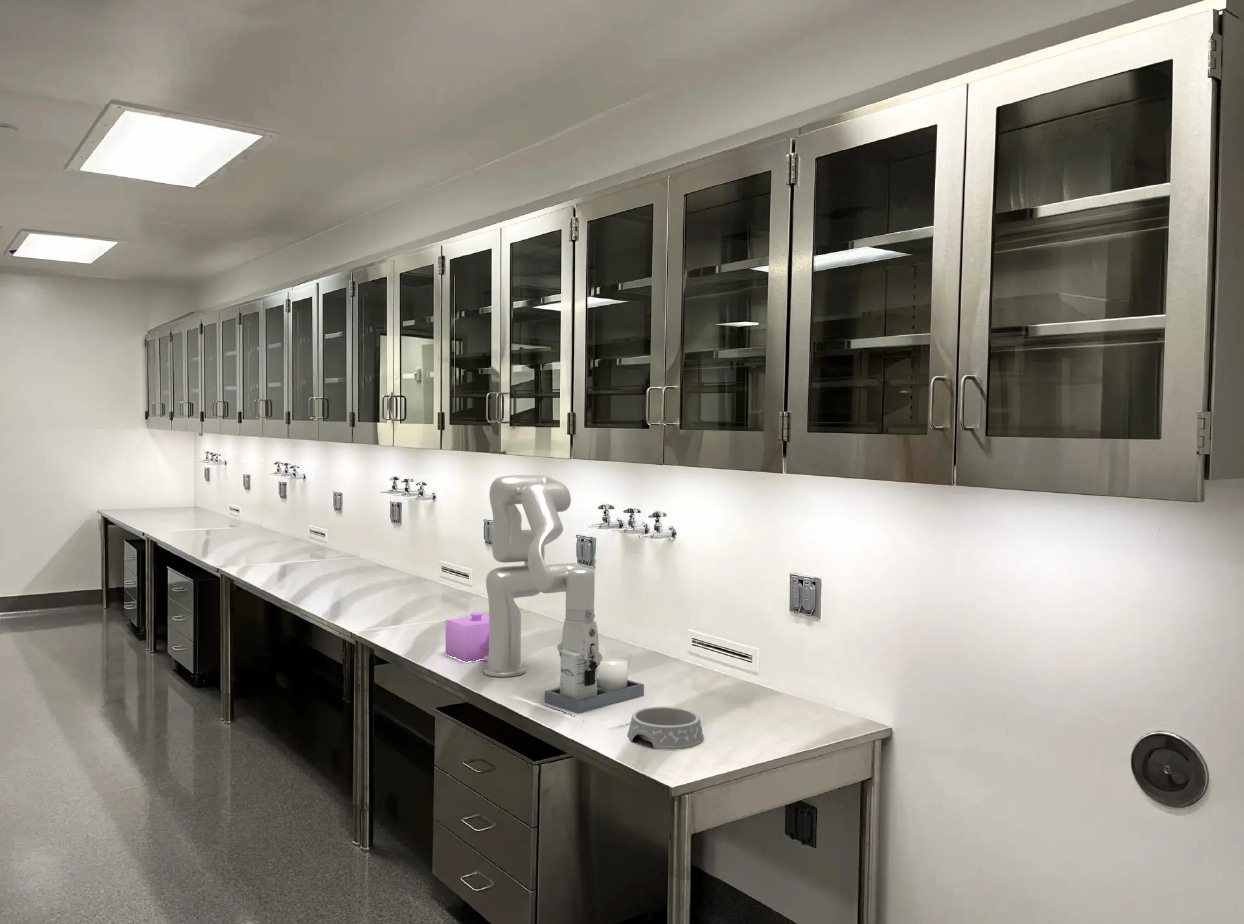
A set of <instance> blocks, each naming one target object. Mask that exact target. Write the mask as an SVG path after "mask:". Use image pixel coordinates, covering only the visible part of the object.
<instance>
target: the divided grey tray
mask: <svg viewBox="0 0 1244 924" xmlns="http://www.w3.org/2000/svg"><path fill="white" fill-rule="evenodd" d="M644 696H645V684H644V683H640V682H637V681H633V680H629V679H628V681H627V688H623V689H619V690H615V691H611V692H610V691H607V690H604V689H601V688H598V677H597V695H596V696H592V697H588V698H585V699H581V700H576V699H573V698H570V697H567V696H564V695H561V694H560V686H559V687H555V688H552V689H547V690H545V691H544V703H546V704H548V705H551V706H553V707H550V706H548V705H544V707H546V708H549V709H552V710H554V711H555V710H556V711H558V712H560V711H561V713H563V712H564V713H563V714H566V713H568V712H572V713H575V714H577V715H578V714H579V715H580V714H582V713H585V712H589V711H590V712H591V711H593V710H597V709H600V708H604V707H607V706H610V705H614V704H619V703H621V702H626V701H629V700H632V699H636V698H640V697H644ZM555 707H556V708H555ZM557 708H560V709H563V710H565V711H568V712H565V711H563V710H560V709H557ZM572 713H568V714H567V715H569V714H570V715H569V716H572V715H574V714H572ZM575 716H576V715H574V716H573V717H575Z"/></svg>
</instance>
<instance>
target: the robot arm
mask: <svg viewBox="0 0 1244 924" xmlns="http://www.w3.org/2000/svg"><path fill="white" fill-rule="evenodd" d="M489 487H490V488H489V502H490V507H491V508H490V509H491V511H492V536H491V537H492V544H491V546H492V547H491V550H492V551H491V552H492V556H493V559H494V560H495V561H496V562H498V563H504V564H507V563H520V562H523V563H524V564H522V565H509V566H500V567H496V568H494V569H491V570H490V571H489V572H488V573H487V575H486V578H485V586H486V593H487V598H488V599H487V600H488V615H489V654H488V655H487V656H485V657H484V661H486V662H487V664H486V666H484V667H483V671H482V672H483V673H484V674H485V675H486V676H490V677H496V678H497V677H499V678H507V677H508V678H509V677H516V676H520V675H524V674H525V673H526V671H527V668H526V666H525V665H523V664H522V663H521V662H522V658H521V657H522V655H521V654H522V648H521V647H522V646H521V645H522V613H521V610H520V607H519V606H518V604H517V603H516V602H515V600H514V599H518V598H526V597H527V598H528V597H534V596H537V595H540V594H541V593H542V594H555V593H563V592H565V619H564V622H563V627H562V637H561V642H560V643H558V644H557V646H556V648H557V651H558V653H559V657H560V658H561V650H563V649H565V650H568V651H572V652H575V653H579V654H582V660H583V661H584V664H585V666H586V669H587V670H585V686H589V685H593V684H595V669H597V667H598V666H599V664H600V662H601V660H602V659H604V657H603V655H602V653H601V652H600V647H599V643H600V641H599V631H598V625H597V621H596V620H595V618H596V615H595V582H596V581H595V580H596V577H595V576H596V575H595V571H594V570H593V569H592V568H589V567H584V566H583V565H581V564H580V563H577V562H568V563H553V564H546V562H545V554H546V552H545V546H546V545H549V544H551V543H552V542H554V541H555V540H557V539H558V538H559V537H560V536H561V535H562V534H563V532H564V525H563V524H562V521H561V519H560V518H561V517H560V516H559V513H561V512H565V511H567V510H569V508H570V506H571V501H572V497H571V493H570V491H569V489H568V487H567V486H566V485H565V484H564V483H562V482H561V481H559V480H557V479H554V478H552V477H550V476H546V475H542V474H541V475H540V474H539V475H537V474H535V475H534V474H533V475H531V474H530V475H529V474H528V475H523V474H522V475H521V474H519V475H517V474H516V475H515V474H514V475H513V474H511V475H503V476H500V477H496V478H495V479H493V481H492V483H491V485H490V486H489ZM517 505H522V507H523V511H524V513H525V516H526V519H527V522H528V524H529V528H530V529H522V521H523V520H522V519H523V518H522V514H521V511H520V510H519V508H518V506H517ZM590 653H592V654H593V655H594V657H595V659H594V657H593V656H592V657H590V658H588V655H589V654H590ZM590 660H591V664H589V661H590Z"/></svg>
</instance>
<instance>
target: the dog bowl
mask: <svg viewBox="0 0 1244 924" xmlns="http://www.w3.org/2000/svg"><path fill="white" fill-rule="evenodd" d="M637 735H638V736H639V737H640V739H642V740H644V741H646V742H649V743H652V747H653V748H655V749H654V750H658V749H680V750H686V748H687V749H691V748H694V747H697V746H699V745H701V744H702V743H703V742H704V740H705V739H704V734H703V729H702V723H701V718H700V715H699V714H698V713H696V712H694V711H692V710H688V709H686V708H682V707H681V708H680V707H674V706H649V707H645V708H641V709H638V710H636V711H634V712H633V713H632V715H631V720H630V723H629V727H628V731H627V735H626V738H627V737H628V738H629V739H628V738H627V739H628V741H629V740H630V741H629V742H633V740H634V738H635V737H636V736H637ZM639 737H638V738H639Z"/></svg>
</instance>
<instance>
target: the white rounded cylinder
mask: <svg viewBox="0 0 1244 924" xmlns="http://www.w3.org/2000/svg"><path fill="white" fill-rule="evenodd" d="M628 663H629V661H628V660H627V659H625V658H622V657H621V658H620V657H603V658H602V660H601V662H600V664H599V666H598V672H597V678H598V688H601V689H604V690H607V691H610V692H611V691H615V690H619V689H623V688H627V681H628V680H629V679H628V670H629V668H628V665H629V664H628Z"/></svg>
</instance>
